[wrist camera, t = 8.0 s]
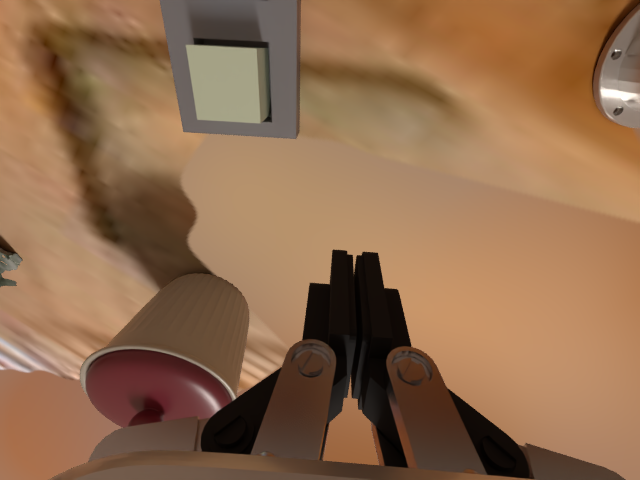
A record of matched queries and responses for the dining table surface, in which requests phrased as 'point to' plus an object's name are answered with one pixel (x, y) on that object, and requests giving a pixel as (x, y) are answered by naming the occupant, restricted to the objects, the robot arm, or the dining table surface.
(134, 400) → the canister
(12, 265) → the rose bouquet
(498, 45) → the dining table surface
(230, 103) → the button sage
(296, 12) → the console
